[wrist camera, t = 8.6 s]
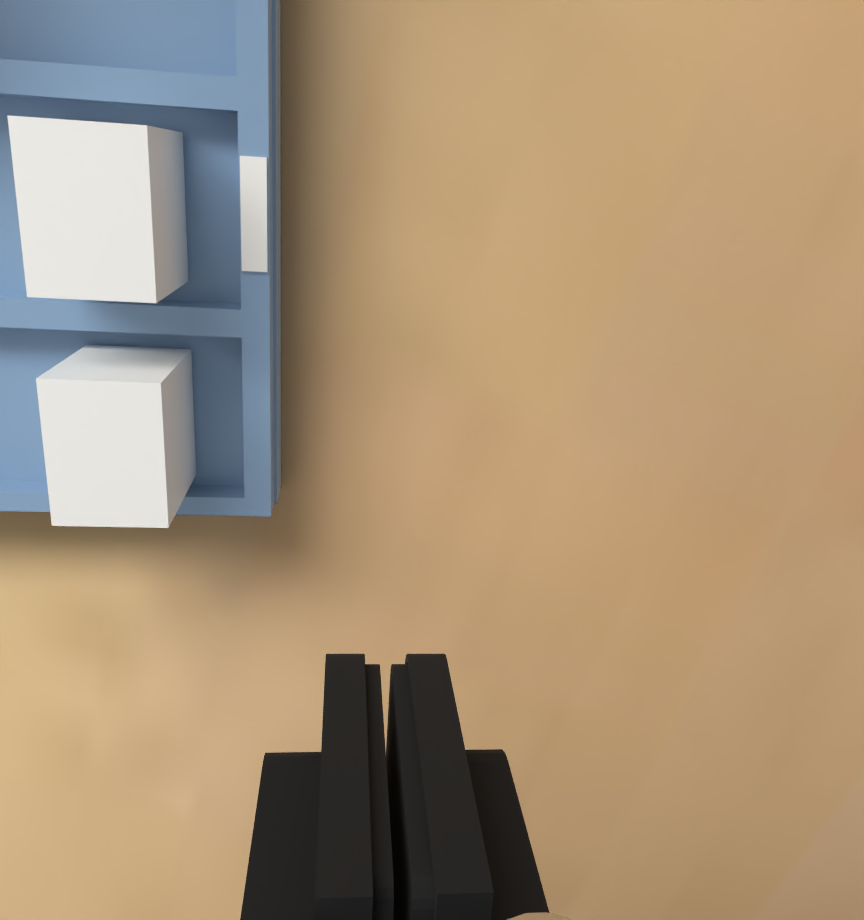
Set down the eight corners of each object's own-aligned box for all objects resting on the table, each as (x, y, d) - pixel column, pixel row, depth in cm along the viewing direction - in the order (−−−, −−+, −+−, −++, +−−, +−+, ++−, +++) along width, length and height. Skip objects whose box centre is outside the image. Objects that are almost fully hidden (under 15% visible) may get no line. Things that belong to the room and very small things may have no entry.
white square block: (191, 349, 24) (161, 383, 20) (196, 474, 25) (168, 527, 21) (86, 344, 23) (35, 378, 20) (97, 471, 25) (51, 525, 21)
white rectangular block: (182, 132, 22) (146, 125, 18) (188, 281, 23) (156, 303, 19) (67, 124, 21) (7, 115, 18) (80, 275, 23) (26, 297, 19)
